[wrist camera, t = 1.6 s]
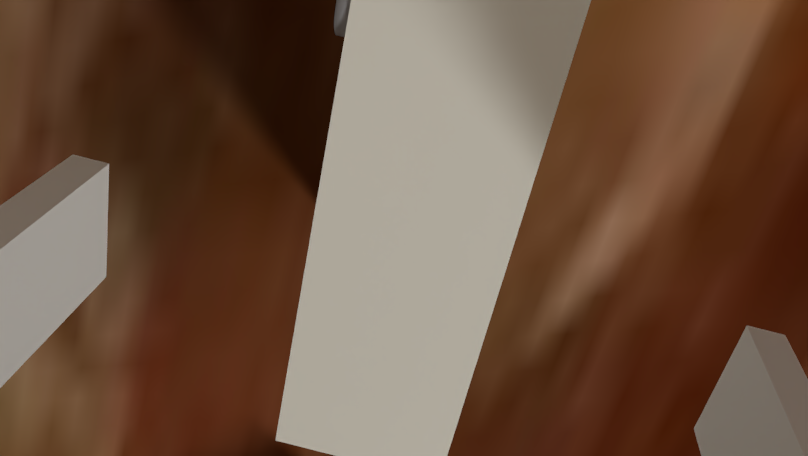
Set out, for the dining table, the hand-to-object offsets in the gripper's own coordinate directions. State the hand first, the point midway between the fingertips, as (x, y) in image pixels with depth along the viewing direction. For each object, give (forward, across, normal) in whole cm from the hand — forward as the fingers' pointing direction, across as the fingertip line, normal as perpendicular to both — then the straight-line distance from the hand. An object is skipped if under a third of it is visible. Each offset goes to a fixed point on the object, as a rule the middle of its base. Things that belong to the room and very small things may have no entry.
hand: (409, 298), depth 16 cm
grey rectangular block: (+13, 0, 0) cm, 13 cm away
